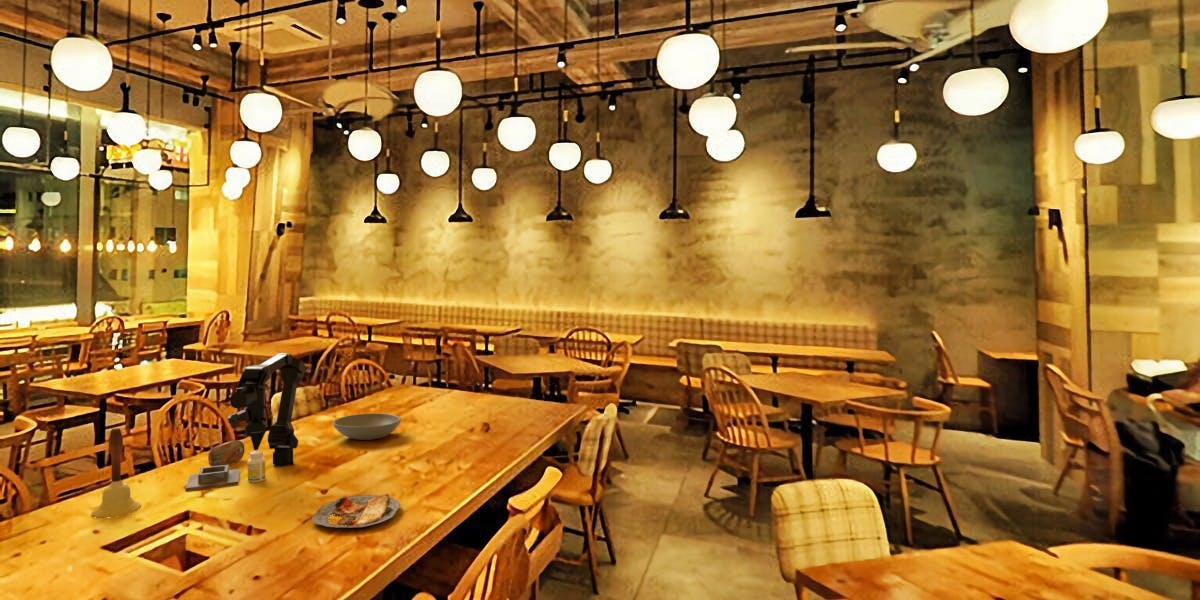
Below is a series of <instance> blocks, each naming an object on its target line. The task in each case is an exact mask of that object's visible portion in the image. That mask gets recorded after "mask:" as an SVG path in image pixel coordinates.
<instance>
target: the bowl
mask: <svg viewBox="0 0 1200 600" xmlns="http://www.w3.org/2000/svg"><path fill="white" fill-rule="evenodd" d="M401 420H402V419H401V417H400V416H398V415H395V414H390V413H379V412H378V413H377V412H375V413H358V414H351V415H346V416H341V417H339V418H336V419H334V420H333V422H332V423H333V427H334V428H335V430H336V431H337V432H338V433H340V434H341V435H342V436H344V437H347V438H349V439H354V440H358V441H359V440H361V441H372V440H377V439H381V438H385V437H386V436H388V435H390V434H391V433H393V432H394V431H395V430H396V429H397V428H398V427H399V425H401V422H402V421H401Z"/></svg>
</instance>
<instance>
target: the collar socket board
mask: <svg viewBox="0 0 1200 600" xmlns="http://www.w3.org/2000/svg"><path fill="white" fill-rule="evenodd" d="M229 466H230V465H221V466H212V467H211V466H204V467H200V468H199V471H198V473H195V474H193V473H192V474H190V475H189V477H188V481H187V483H186V487H185V492H190V490H191V491H198V490H197V489H199V490H206V488H207V489H212V487H214V488H220V487H229V486H236V485H239V479H240V468H238V469H229V468H230V467H229Z"/></svg>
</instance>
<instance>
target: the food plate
mask: <svg viewBox="0 0 1200 600" xmlns="http://www.w3.org/2000/svg"><path fill="white" fill-rule="evenodd" d="M401 505H402V504H401V502H400V501H398V500H397V499H394V498H393V497H391V496H390V494H389V493H386V494H382V495H374V494H362V495H360V494H359V495H353V496H345V495H344V497H342V498H341V497H340V498H339V499H336V500H333V501H330V502H328V503H327V504H324V505H322V506H321V507H320V508H319V509H318V510H317V512H315V514H314V515H313V516H312V517H311V521H312V522H313V524H315V525H317V526H318V525H319V526H320V525H321V526H324V527H327V528H342V529H345V528H346V529H348V528H350V529H351V528H352V529H353V528H364V527H371V526H374V525H377V524H379V523H382V522H386V521H388V520H389V519H391V518H393V517H394V516H395V514H396V513H397V512H398V510H399V508H400V506H401ZM332 514H333V516H335V517H337V516H338V518H339V517H341V518H342V519H340V520H339V521H338V522H336V524H335V525H334V523H333V524H332V523H329V521H330V520H329V519H330V518H329V519H328V517H330V515H332ZM334 514H335V515H334ZM326 516H327V517H326ZM331 517H332V516H331ZM359 517H360V518H359ZM356 518H358V522H357V521H356V523H357V525H352V524H351V523H352V521H353V520H355V519H356ZM328 520H329V521H328ZM337 524H339V525H337ZM350 524H351V525H350ZM341 525H343V526H341ZM345 525H347V526H345ZM348 525H349V526H348Z"/></svg>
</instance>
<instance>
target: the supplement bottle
mask: <svg viewBox="0 0 1200 600" xmlns="http://www.w3.org/2000/svg"><path fill="white" fill-rule="evenodd" d="M263 455H264V452H263V451H262V450H253V451H251V452H249V459H248V460H247V481H248V482H249V483H258V482H262V481H265V480H266V459H265V457H263Z"/></svg>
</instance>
